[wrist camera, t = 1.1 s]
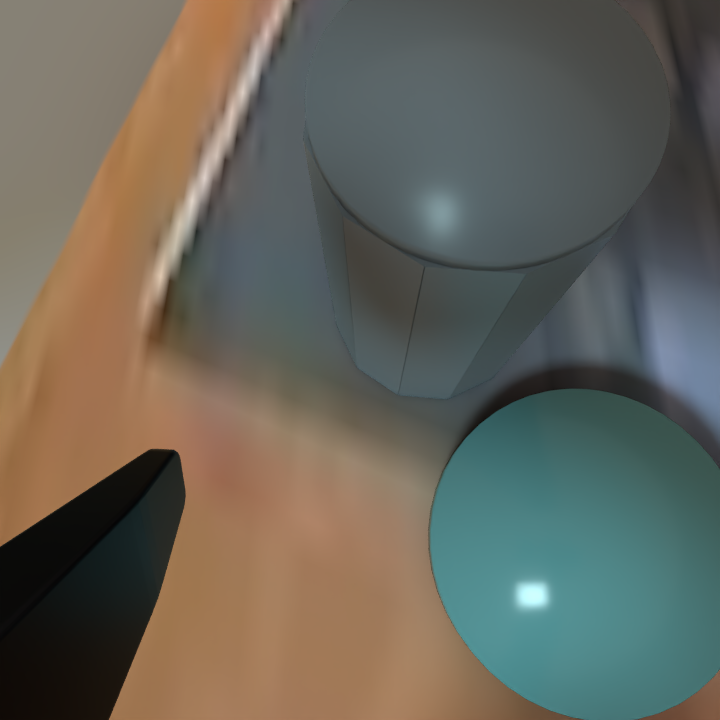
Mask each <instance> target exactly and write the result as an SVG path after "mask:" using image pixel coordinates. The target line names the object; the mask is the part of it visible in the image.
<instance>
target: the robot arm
mask: <svg viewBox="0 0 720 720" xmlns="http://www.w3.org/2000/svg"><path fill="white" fill-rule="evenodd" d="M185 497H186V494H185V485H184V479H183V472H182V466H181V460H180V456H179V454H178V452H176V451H175V450H169V449H150V450H148V451H146V452H145V453H143V454H142V455H140V456H138V457H137V458H135V459H134V460H132V461H131V462H129V463H128V464H126V465H125V466H123V467H122V468H120V469H119V470H117V471H115V472H114V473H112V474H111V475H109V476H108V477H106V478H105V479H103V480H102V481H100V482H99V483H97V484H96V485H94V486H93V487H91V488H89V489H88V490H86V491H85V492H83V493H82V494H80V495H79V496H77V497H76V498H74V499H73V500H71V501H70V502H68V503H66V504H65V505H63V506H62V507H60V508H59V509H57V510H56V511H54V512H53V513H51V514H50V515H48V516H47V517H45V518H43V519H42V520H40V521H39V522H37V523H36V524H34V525H33V526H31V527H30V528H28V529H27V530H25V531H24V532H22V533H21V534H19V535H17V536H16V537H14V538H13V539H11V540H10V541H8V542H7V543H5V544H4V545H2V546H1V547H0V720H109V718H110V716H111V713H112V711H113V708H114V706H115V703H116V701H117V699H118V696H119V694H120V691H121V689H122V686H123V684H124V681H125V679H126V676H127V674H128V672H129V669H130V667H131V664H132V662H133V659H134V657H135V654H136V652H137V649H138V647H139V644H140V642H141V640H142V637H143V635H144V632H145V630H146V627H147V625H148V622H149V620H150V617H151V615H152V613H153V610H154V607H155V605H156V602H157V599H158V597H159V593H160V590H161V587H162V584H163V580H164V577H165V573H166V570H167V566H168V562H169V559H170V555H171V552H172V548H173V545H174V541H175V537H176V534H177V530H178V527H179V523H180V520H181V516H182V513H183V509H184V505H185Z"/></svg>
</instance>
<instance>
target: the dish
mask: <svg viewBox="0 0 720 720" xmlns="http://www.w3.org/2000/svg"><path fill="white" fill-rule="evenodd" d="M428 540H429V555H430V563H431V570H432V574H433V577H434V581H435V585H436V589H437V592H438V594H439V597H440V599H441V602H442V604H443V607H444V609H445V611H446V613H447V615H448V617H449V618H450V620H451V622H452V624H453V626H454V628H455V629H456V631H457V632H458V634H459V635H460V636H461V638H462V639H463V640H464V642H465V643H466V645H467V646H468V647H469V649H470V650H471V651H472V653H473V654H474V655H475V656H476V657H477V658H478V659H479V661H480V662H481V663H482V664H483V665H484V666H485V667H486V668H487V669H488V670H489V671H490V672H491V673H492V674H493V675H494V676H495V677H497V678H498V679H499V680H500V681H501V682H502V683H504V684H505V685H506V686H507V687H509V688H510V689H512V690H513V691H515V692H516V693H518V694H519V695H521V696H522V697H524V698H525V699H527V700H529V701H531V702H533V703H535V704H537V705H539V706H541V707H544V708H546V709H548V710H550V711H553V712H557V713H560V714H563V715H566V716H569V717H573V718H579V719H585V720H634V719H640V718H644V717H647V716H651V715H654V714H658V713H661V712H663V711H665V710H667V709H669V708H672V707H674V706H676V705H678V704H680V703H681V702H683V701H684V700H686V699H688V698H689V697H691V696H692V695H694V694H695V693H697V692H698V691H699V690H700V689H701V688H702V687H703V686H704V685H705V684H707V683H708V682H709V681H710V680H711V679H712V678H713V677H714V676H715V674H716V673H717V672H718V671H719V669H720V469H719V467H718V466H717V465H716V463H715V462H714V460H713V459H712V458H711V456H710V455H709V454H708V453H707V452H706V451H705V450H704V449H703V447H702V446H701V445H700V444H699V443H698V442H697V441H696V440H695V439H694V438H693V437H692V436H691V435H689V434H688V433H687V432H686V431H685V430H684V429H683V428H682V427H680V426H679V425H678V424H676V423H675V422H673V421H672V420H670V419H669V418H668V417H666V416H665V415H663V414H661V413H660V412H658V411H656V410H654V409H652V408H650V407H649V406H647V405H645V404H642V403H640V402H637V401H635V400H632V399H630V398H627V397H624V396H621V395H617V394H613V393H609V392H605V391H598V390H591V389H560V390H552V391H546V392H542V393H538V394H534V395H530V396H527V397H525V398H522V399H520V400H517V401H515V402H512V403H511V404H509V405H507V406H505V407H503V408H502V409H500V410H498V411H496V412H495V413H494V414H492V415H491V416H490V417H488V418H487V419H486V420H484V421H483V422H482V423H481V424H479V425H478V426H477V427H476V428H475V429H474V430H473V431H472V432H471V433H470V434H469V435H468V436H467V437H466V438H465V439H464V440H463V441H462V443H461V444H460V445H459V446H458V448H457V449H456V450H455V452H454V453H453V454H452V456H451V458H450V459H449V461H448V463H447V465H446V467H445V468H444V470H443V472H442V474H441V477H440V479H439V482H438V484H437V487H436V490H435V493H434V497H433V501H432V505H431V510H430V519H429V527H428Z"/></svg>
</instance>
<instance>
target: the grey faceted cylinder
mask: <svg viewBox="0 0 720 720" xmlns="http://www.w3.org/2000/svg"><path fill="white" fill-rule="evenodd" d="M670 109H671V104H670V97H669V90H668V84H667V80H666V77H665V74H664V70H663V67H662V64H661V62H660V60H659V58H658V56H657V54H656V51H655V49H654V47H653V45H652V44H651V42H650V41H649V39H648V38H647V36H646V35H645V33H644V31H643V30H642V28H641V27H640V26H639V25H638V24H637V23H636V21H635V20H634V19H633V18H632V17H631V16H630V14H629V13H628V12H627V11H626V10H625V9H623V8H622V7H621V6H620V5H619V4H618V3H617V2H616V1H615V0H350V1H349V2H348V3H347V4H346V5H345V6H344V7H343V8H342V9H341V10H340V11H339V12H338V13H337V15H336V16H335V17H334V19H333V20H332V21H331V23H330V24H329V25H328V27H327V28H326V30H325V31H324V33H323V35H322V37H321V39H320V40H319V42H318V44H317V46H316V49H315V51H314V54H313V56H312V59H311V62H310V65H309V70H308V74H307V79H306V86H305V112H306V121H305V128H304V136H303V141H304V147H305V152H306V158H307V164H308V169H309V175H310V180H311V186H312V191H313V197H314V202H315V208H316V214H317V219H318V225H319V230H320V236H321V241H322V247H323V252H324V258H325V264H326V269H327V275H328V280H329V286H330V291H331V297H332V302H333V308H334V314H335V319H336V325H337V327H338V329H339V331H340V334H341V336H342V338H343V340H344V342H345V344H346V346H347V348H348V350H349V352H350V354H351V356H352V358H353V360H354V363H355V365H356V367H357V368H358V369H360V370H361V371H363V372H364V373H366V374H367V375H369V376H370V377H372V378H373V379H375V380H376V381H378V382H379V383H381V384H382V385H384V386H385V387H387V388H388V389H390V390H391V391H393V392H394V393H395V394H397V395H401V396H414V397H426V398H439V399H450V398H452V397H454V396H456V395H458V394H461V393H463V392H465V391H467V390H469V389H471V388H473V387H475V386H478V385H480V384H482V383H484V382H486V381H488V380H490V379H492V378H493V377H494V376H495V375H496V374H497V373H498V372H499V370H500V369H501V368H502V367H503V366H504V364H505V363H506V362H507V361H508V360H509V359H510V357H511V356H512V355H513V354H514V353H515V351H516V350H517V349H518V348H519V347H520V345H521V344H522V343H523V342H524V341H525V340H526V338H527V337H528V336H529V335H530V334H531V332H532V331H533V330H534V329H535V328H536V327H537V325H538V324H539V323H540V322H541V321H542V319H543V318H544V317H545V316H546V315H547V314H548V312H549V311H550V310H551V309H552V308H553V306H554V305H555V304H556V303H557V302H558V301H559V299H560V298H561V297H562V296H563V295H564V293H565V292H566V291H567V290H568V289H569V288H570V286H571V285H572V284H573V283H574V282H575V280H576V279H577V278H578V277H579V276H580V274H581V273H582V272H583V271H584V270H585V269H586V267H587V266H588V265H589V264H590V263H591V261H592V260H593V259H594V258H595V257H596V256H597V254H598V253H599V252H600V251H601V250H602V248H603V247H604V246H605V245H606V244H607V243H608V241H609V240H610V239H611V238H612V237H613V235H614V234H615V233H616V231H617V230H618V228H619V227H620V225H621V224H622V222H623V220H624V219H625V217H626V216H627V214H628V213H629V211H630V210H631V208H632V206H633V205H634V203H635V202H636V201H637V200H638V198H639V197H640V196H641V194H642V193H643V192H644V190H645V189H646V188H647V186H648V185H649V184H650V182H651V180H652V178H653V177H654V175H655V173H656V171H657V169H658V167H659V165H660V163H661V160H662V157H663V154H664V151H665V148H666V146H667V141H668V135H669V129H670Z"/></svg>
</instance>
